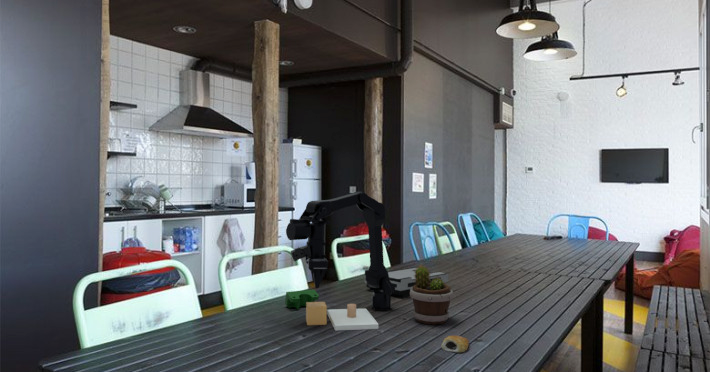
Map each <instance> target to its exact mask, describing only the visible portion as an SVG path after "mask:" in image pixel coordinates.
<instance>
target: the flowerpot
mask: <svg viewBox="0 0 710 372" xmlns="http://www.w3.org/2000/svg"><path fill="white" fill-rule="evenodd" d="M416 268H418V269H417V270H415V271H416V272H415V271H414V273H416V274H415V278H414V277H413V278H414V279H415V281H416V284H415V285H414V286H413V288H412V289H411V290H410V297H409V298H412V304H413V307H414V309H413V311H412V313H413V315H414V318H415V319H416V321H417V322H418V323H421V324H425V325H442V324H445V323H446V322H447V320H448V319H449V315H450V312H449V311H448V310H449V307H450V303H451V301H452V300H453V298H454V292H453V290H452V289H451V287H450V286H449V285H448V284H446V283H445V282H443V281H442V280H441V279H440V278H439V279H438V277H437V279H436V278H435V277H434V278H435V279H434V280H432V281H431V282H430V283H429V282H428V281H429V280H430V278H429V277H430V276H429V275H431V274H430V273H431V272H430V271H429V268H427V266H426V263H425V264H422V262H420V264H419V265H417V266H416ZM429 272H430V273H429Z"/></svg>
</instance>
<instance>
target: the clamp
mask: <svg viewBox="0 0 710 372" xmlns="http://www.w3.org/2000/svg"><path fill="white" fill-rule="evenodd" d="M319 296H320V294H318V292H317V291H316V290H315V289H304V290H294V291H292V290H291V291H286V292H285V297H284V299H285V300H284V303H285V304H284V305H285V306H286V307H287V308H288V309H290V308H291V307H292V308H295V309H296V310H297V311H299V310H300V308H301V307H306V302H316V301H318V300H319ZM300 306H301V307H300Z"/></svg>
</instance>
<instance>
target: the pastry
mask: <svg viewBox="0 0 710 372" xmlns="http://www.w3.org/2000/svg"><path fill="white" fill-rule="evenodd" d="M469 342H470V341H469V339H468V338H467V337H464V336H461V335H452V334H451V335H448V336H446V337H444V339H443V341H442V344H441V345H440V347H441V349H442V350H443V351H445V352H452V353H465V352H466V351H468V348H469Z"/></svg>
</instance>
